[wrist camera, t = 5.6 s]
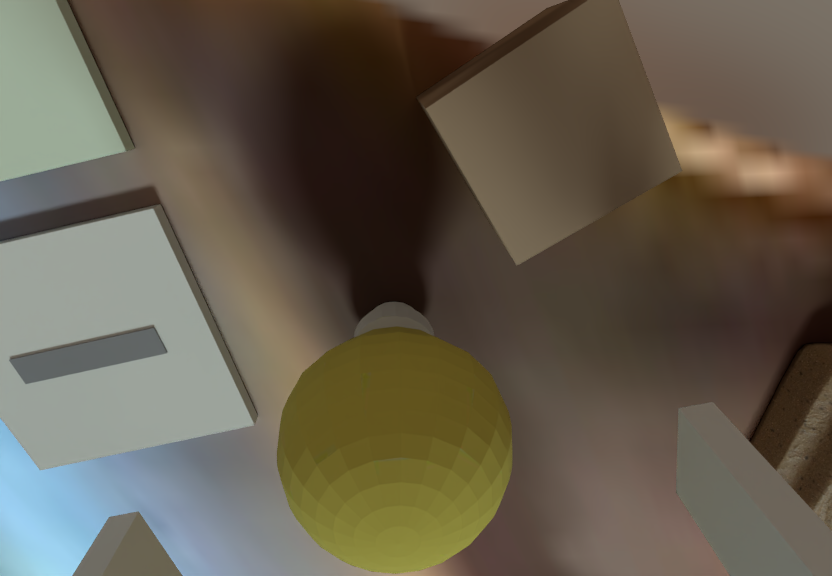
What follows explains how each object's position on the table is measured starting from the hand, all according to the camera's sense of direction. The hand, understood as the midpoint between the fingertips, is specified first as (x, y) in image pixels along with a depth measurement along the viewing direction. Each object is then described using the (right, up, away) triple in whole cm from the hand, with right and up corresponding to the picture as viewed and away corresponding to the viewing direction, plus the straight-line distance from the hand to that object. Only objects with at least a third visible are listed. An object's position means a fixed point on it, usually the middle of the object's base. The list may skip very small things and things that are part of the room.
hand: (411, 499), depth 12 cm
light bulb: (-1, +4, +8) cm, 9 cm away
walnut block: (+4, +11, +5) cm, 13 cm away
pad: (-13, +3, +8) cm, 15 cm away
